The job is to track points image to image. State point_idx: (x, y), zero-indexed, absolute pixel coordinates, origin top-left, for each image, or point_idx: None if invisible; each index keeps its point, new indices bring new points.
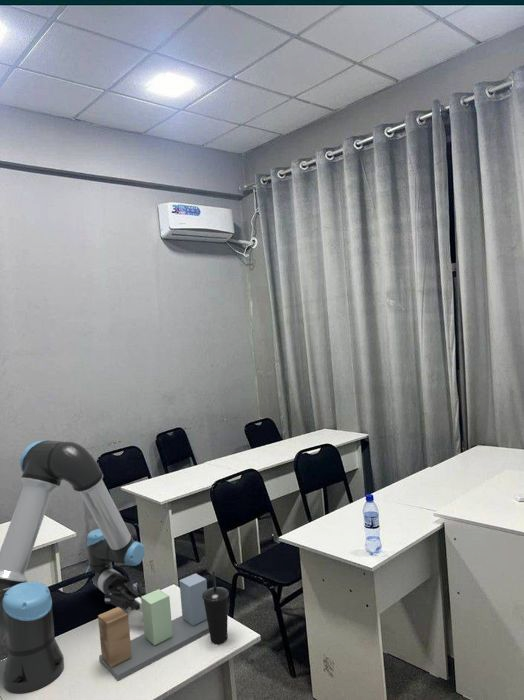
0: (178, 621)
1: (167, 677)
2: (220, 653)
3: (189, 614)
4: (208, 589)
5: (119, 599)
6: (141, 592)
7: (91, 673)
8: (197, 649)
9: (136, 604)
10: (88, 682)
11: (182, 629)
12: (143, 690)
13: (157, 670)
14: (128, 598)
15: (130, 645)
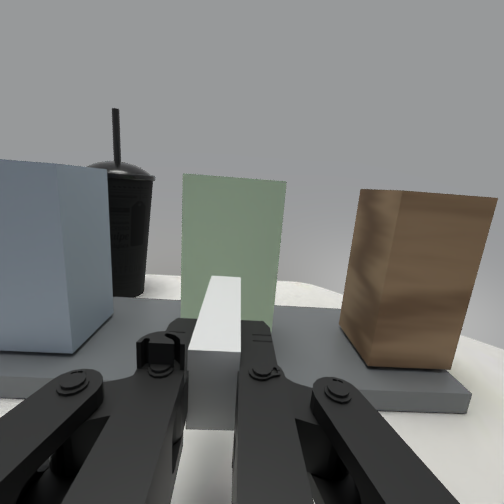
0: (98, 357)
1: (277, 290)
2: (165, 278)
3: (103, 288)
4: (113, 166)
5: (442, 497)
6: (61, 418)
7: (476, 379)
8: (180, 297)
9: (257, 328)
10: (470, 357)
11: (144, 324)
12: (327, 293)
13: (285, 304)
14: (290, 413)
15: (344, 290)
